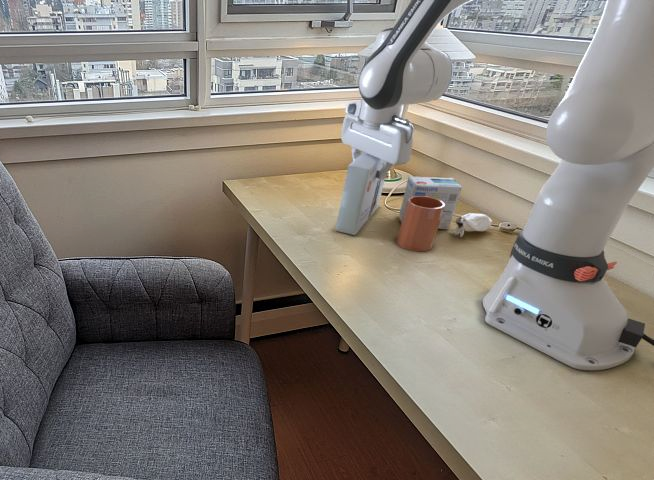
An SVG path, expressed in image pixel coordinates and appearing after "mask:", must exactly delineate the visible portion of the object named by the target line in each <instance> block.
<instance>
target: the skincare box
mask: <svg viewBox="0 0 654 480" xmlns="http://www.w3.org/2000/svg"><path fill="white" fill-rule="evenodd" d="M382 167H383V165H382V160H381V159H379V158H376V157H374V156H372V155H369V154H367V153H365V152H362V153H361V155H360V156H359V157H358V158H356V159H355V160H354V161H353V160H352V161H351V162H350V163H349V164H348V165H347V168H346V169H347V170H346V175H345V179H344V184H343V190H342V194H341V195H342V196H341V200H340V204H339V205H340V206H339V210H338V215H337V220H336V224H335V229H334V230H335V232H338V233H339V232H340V233H344V234H347V235H348V234H349V235H353V236H356V235H357V233H358V232H359V231H360V230H361V228H362V227H363V226H364V225H365V224H366V222H367V221H368V220H369V219H370V218H371V217H372V215H373V214H374V213H375V211H376V210H377V209H378V208H379V205H380V201H381V197H382V192H383V189H384V185H385V180H386V178H385V179H383V180H380V179H378V178H376V175H377V170H381V168H382Z"/></svg>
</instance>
